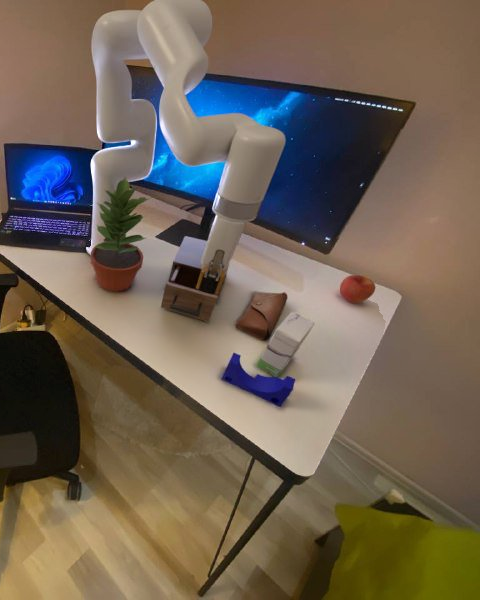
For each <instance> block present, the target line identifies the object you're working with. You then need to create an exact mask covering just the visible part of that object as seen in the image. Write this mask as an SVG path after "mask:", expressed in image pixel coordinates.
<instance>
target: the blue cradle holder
mask: <svg viewBox="0 0 480 600" xmlns="http://www.w3.org/2000/svg"><path fill="white" fill-rule="evenodd" d="M241 356H242V355H241V354H238V353H236V352H233V353H232V355H231V356H230V358H229V361H228V363H227V365H226V367H225V370H224V372H223V374H222V376H221V380H222V381H224V382H226V383H229V384H230V385H233V386H234V387H237V388H239V389H241V390H244V391H245V392H247V393H250V394H252V395H254V396H256V397H258V398H260V399H261V400H265V401H266V402H269V403H271V404H273V405H275V406H277V407H279V408H281V407H282V405H283V404H284V403H285V402H286V400H287V399H288V397H289V396H290V395H291V393H292V392H293V391H294V386H295V383H296V378H294V377H292V376H290V375H286V376H285V377H284V378H283V379H282V378H280V377H279V376H278V377H275V376H267V375H266V376H265V375H261V374H260V373H257V374H256V375H255V376H253V375H250V374H249V373H248V372H246V370H244V368H243V367H242V364H241Z"/></svg>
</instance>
